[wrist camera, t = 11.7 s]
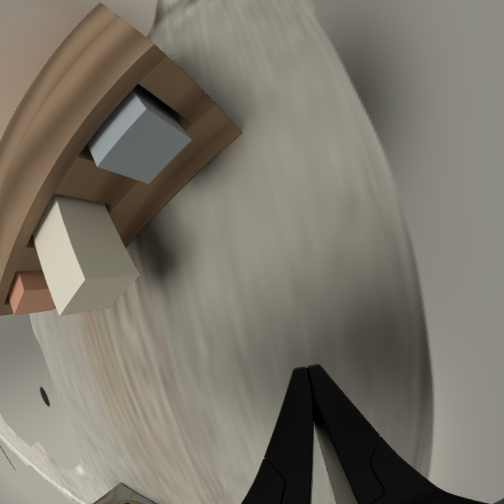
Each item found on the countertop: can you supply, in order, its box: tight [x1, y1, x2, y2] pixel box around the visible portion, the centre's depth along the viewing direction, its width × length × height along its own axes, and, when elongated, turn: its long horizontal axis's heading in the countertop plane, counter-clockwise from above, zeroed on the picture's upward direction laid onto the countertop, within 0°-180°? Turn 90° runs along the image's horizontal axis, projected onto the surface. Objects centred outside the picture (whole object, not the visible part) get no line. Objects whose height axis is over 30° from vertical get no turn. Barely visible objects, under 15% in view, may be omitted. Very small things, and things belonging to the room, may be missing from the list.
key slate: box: [87, 84, 192, 184], centre depth 13 cm, size 6×4×4 cm, turn 37°
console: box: [0, 3, 242, 316], centre depth 17 cm, size 12×22×10 cm, turn 127°
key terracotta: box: [8, 271, 55, 315], centre depth 16 cm, size 6×4×4 cm, turn 37°
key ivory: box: [32, 193, 140, 316], centre depth 14 cm, size 6×4×4 cm, turn 37°
